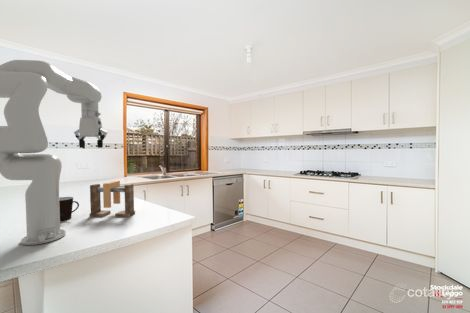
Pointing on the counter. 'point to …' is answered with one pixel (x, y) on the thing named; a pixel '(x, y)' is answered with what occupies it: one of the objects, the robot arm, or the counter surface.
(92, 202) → the rack
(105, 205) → the tan c-shaped bracket
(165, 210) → the counter surface
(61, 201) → the coffee mug
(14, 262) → the counter surface
